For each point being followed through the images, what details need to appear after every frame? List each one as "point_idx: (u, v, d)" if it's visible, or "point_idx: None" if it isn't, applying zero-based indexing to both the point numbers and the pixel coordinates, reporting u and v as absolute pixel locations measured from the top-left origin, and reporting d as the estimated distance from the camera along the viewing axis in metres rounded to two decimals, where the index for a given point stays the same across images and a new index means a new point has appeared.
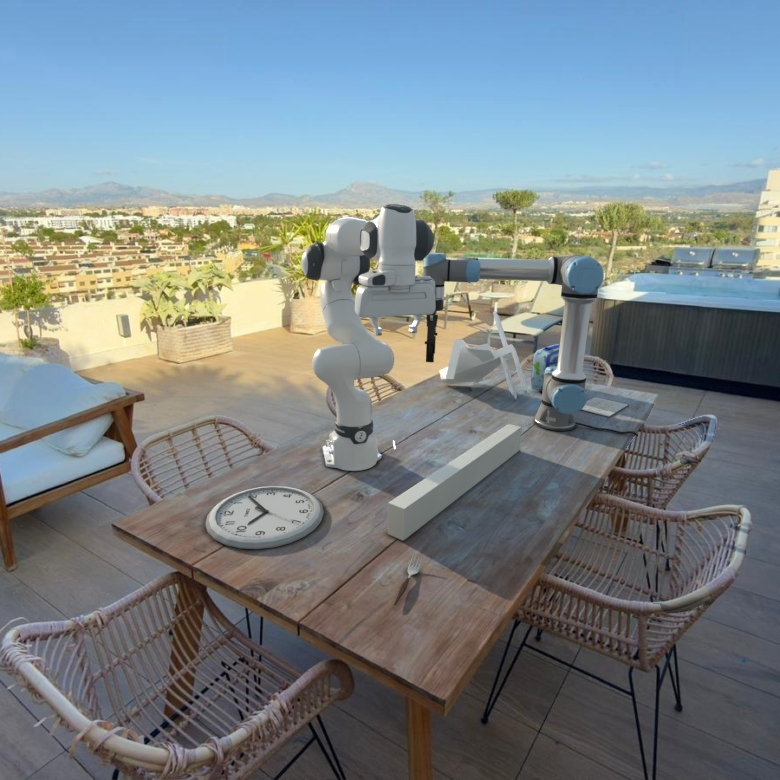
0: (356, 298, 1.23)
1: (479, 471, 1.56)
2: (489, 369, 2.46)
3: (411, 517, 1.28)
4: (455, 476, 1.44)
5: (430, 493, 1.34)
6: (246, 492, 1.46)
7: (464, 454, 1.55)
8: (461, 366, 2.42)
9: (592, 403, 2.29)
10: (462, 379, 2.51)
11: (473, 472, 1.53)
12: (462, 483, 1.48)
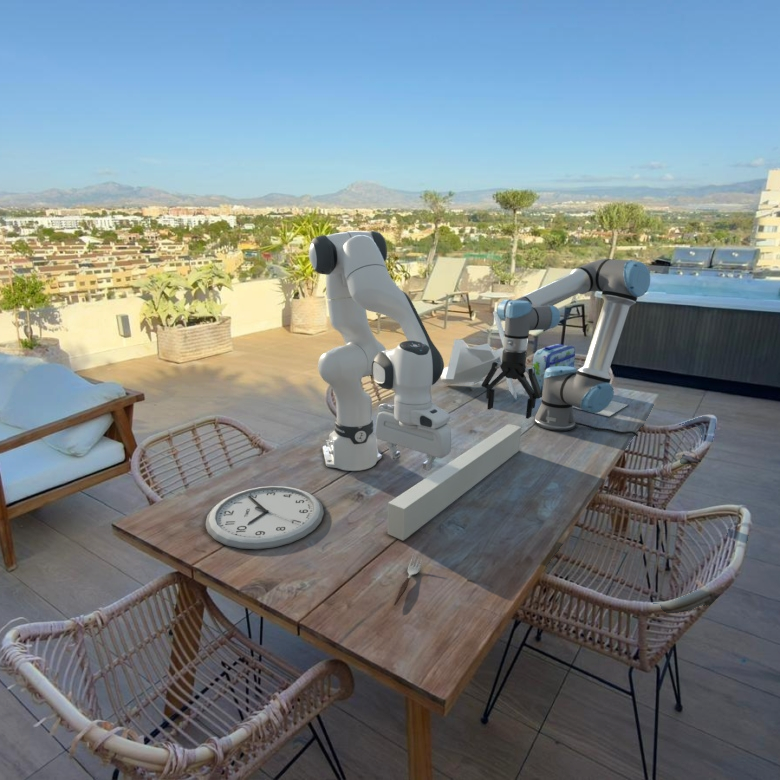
0: (444, 441, 1.19)
1: (479, 471, 1.56)
2: (489, 369, 2.46)
3: (411, 517, 1.28)
4: (455, 476, 1.44)
5: (430, 493, 1.34)
6: (246, 492, 1.46)
7: (464, 454, 1.55)
8: (461, 366, 2.42)
9: None
10: (462, 379, 2.51)
11: (473, 472, 1.53)
12: (462, 483, 1.48)
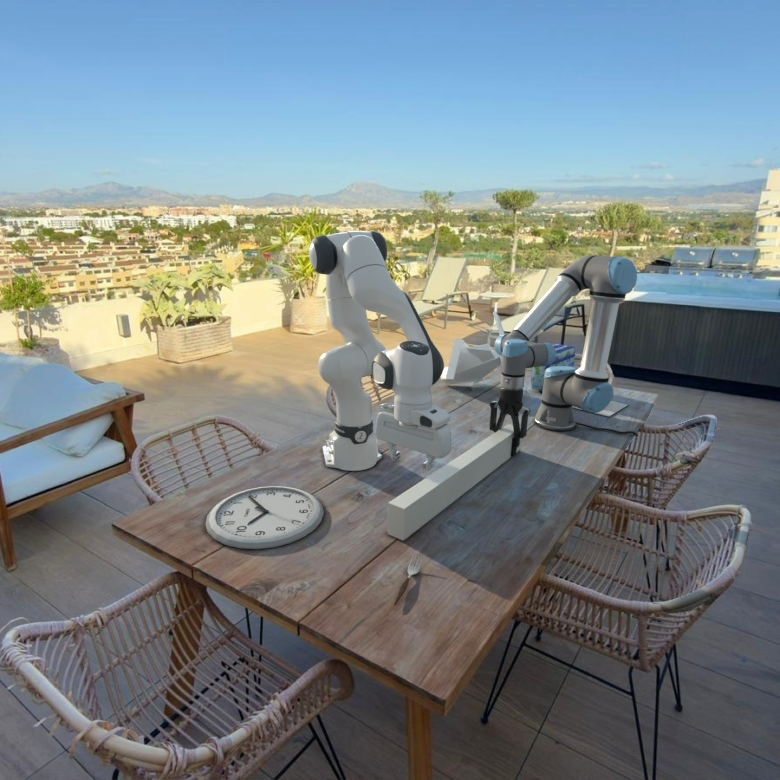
0: (444, 441, 1.19)
1: (479, 471, 1.56)
2: (489, 369, 2.46)
3: (411, 517, 1.28)
4: (455, 476, 1.44)
5: (430, 493, 1.34)
6: (246, 492, 1.46)
7: (464, 454, 1.55)
8: (461, 366, 2.42)
9: None
10: (462, 379, 2.51)
11: (473, 472, 1.53)
12: (462, 483, 1.48)
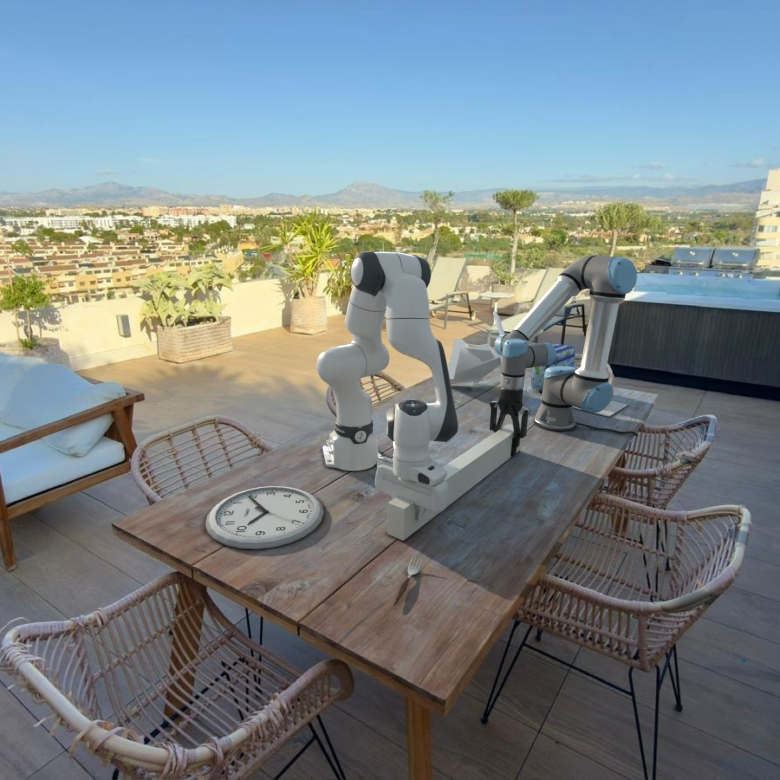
0: (441, 498, 1.23)
1: (479, 471, 1.56)
2: (489, 369, 2.46)
3: (411, 517, 1.28)
4: (455, 476, 1.44)
5: None
6: (246, 492, 1.46)
7: (464, 454, 1.55)
8: (461, 366, 2.42)
9: None
10: (462, 379, 2.51)
11: (473, 472, 1.53)
12: (462, 483, 1.48)
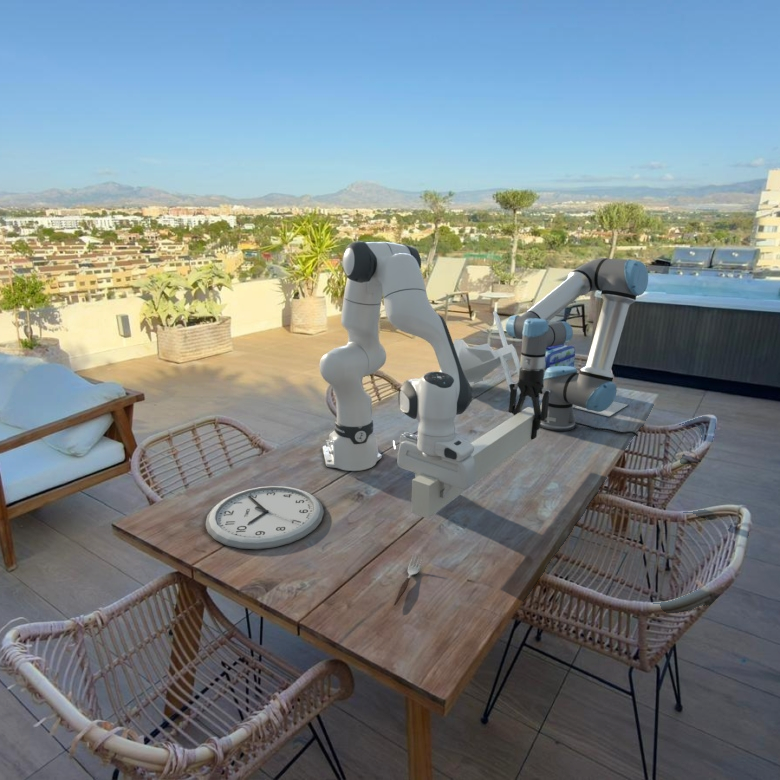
0: (468, 473, 1.18)
1: (501, 452, 1.52)
2: (489, 369, 2.46)
3: (436, 495, 1.24)
4: (478, 455, 1.40)
5: None
6: (246, 492, 1.46)
7: (486, 435, 1.51)
8: (461, 366, 2.42)
9: None
10: None
11: (496, 452, 1.49)
12: (485, 464, 1.44)
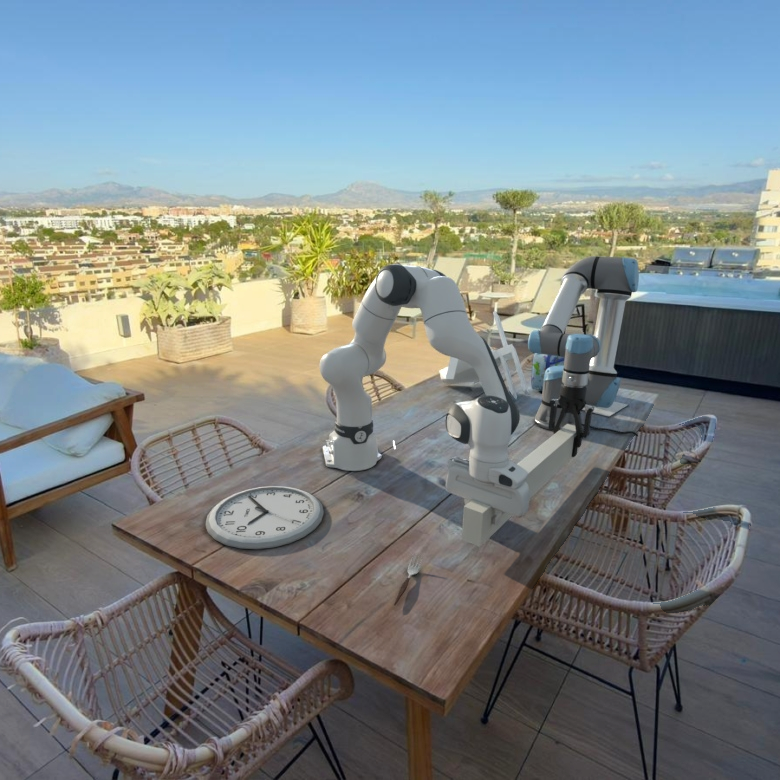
0: (523, 501, 1.15)
1: (545, 473, 1.48)
2: None
3: (488, 521, 1.21)
4: None
5: None
6: (246, 492, 1.46)
7: (530, 455, 1.48)
8: (461, 366, 2.42)
9: None
10: (462, 379, 2.51)
11: (541, 474, 1.45)
12: (531, 486, 1.41)
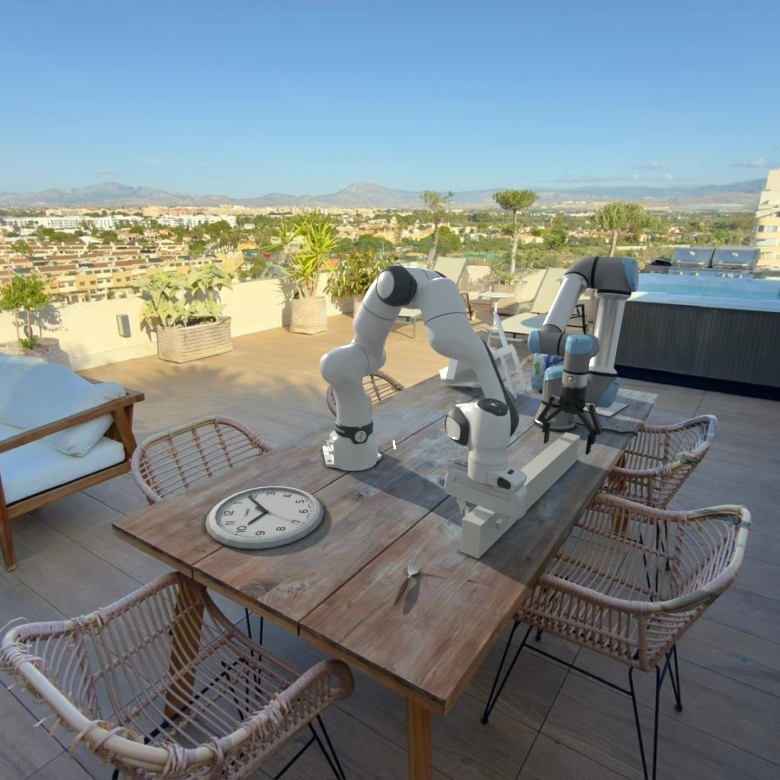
0: (522, 504, 1.15)
1: (544, 483, 1.49)
2: None
3: (486, 534, 1.22)
4: None
5: None
6: (246, 492, 1.46)
7: (528, 465, 1.49)
8: (461, 366, 2.42)
9: None
10: (462, 379, 2.51)
11: (539, 484, 1.46)
12: (529, 496, 1.42)
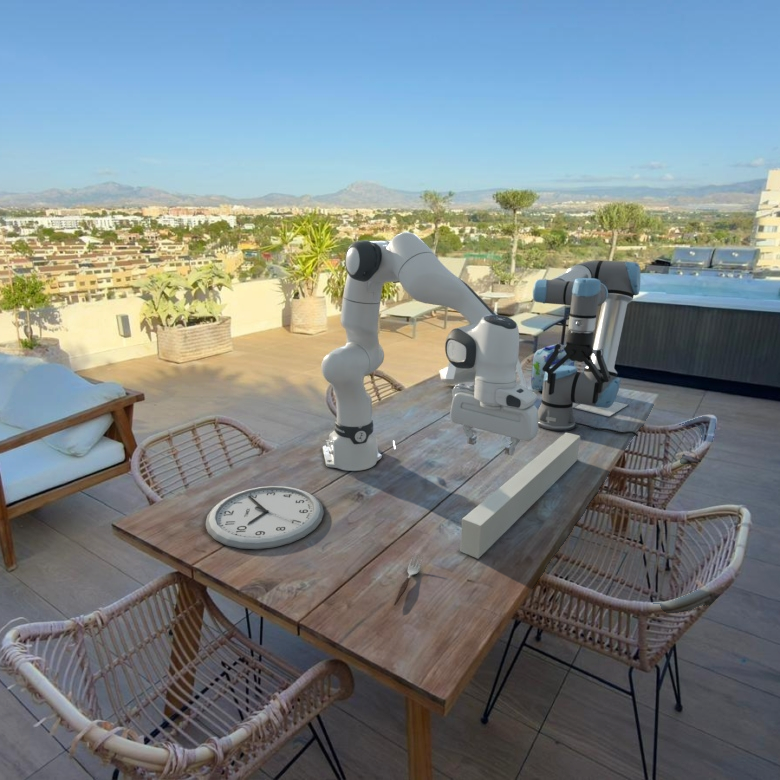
0: (532, 423, 1.10)
1: (544, 483, 1.49)
2: None
3: (486, 534, 1.22)
4: (524, 489, 1.37)
5: (503, 508, 1.27)
6: (246, 492, 1.46)
7: (528, 465, 1.49)
8: None
9: None
10: (462, 379, 2.51)
11: (539, 484, 1.46)
12: (529, 496, 1.42)
